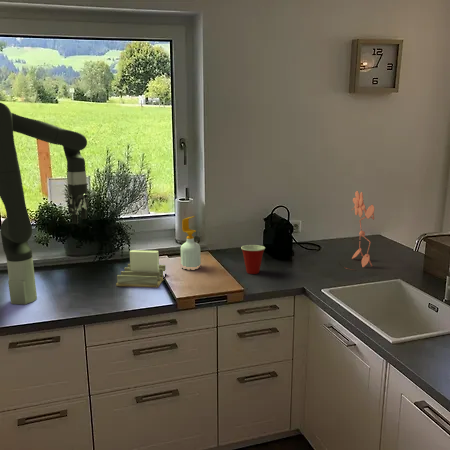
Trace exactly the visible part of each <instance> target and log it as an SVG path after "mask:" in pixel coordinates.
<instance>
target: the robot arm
mask: <svg viewBox="0 0 450 450" xmlns="http://www.w3.org/2000/svg"><path fill="white" fill-rule="evenodd" d="M15 132H16V133H18V134H22V135H25V136H28V137H30V138H34V139H37V140H39V141H42V142H45V143H49V144H52V145H56V146H57V145H59V146H62V148H63V152H64V156H65V160H66V169H67V176H66V180H67V192H68V195H71V198H69V199H68V200H67V206H68V207H67V208H68V209H67V211H68V215H71V222H72V224H73V225H77V224H79V216H78V215H79V211H80V219H81V220H86V219H87V218H88V217H87V210H88V208H89V196H88V195H89V194H88V180H87V172H86V160H85V158H84V157H83V156H82V154H81V151H83V150H84V149H86V148H87V145H88V140H87V137H86V136H85V135H84V134H83V133H80V132H78V131H73V130H69V129H66V128H62V127H60V126H57V125H54V124H53V123H52V124H51V123H49V122H45V121H43V120H42V121H41V120H38V119H35V118H34V119H33V118H30V117H26V116H22V115H20V114H19V115H18V114H16V113H14V112H11V109H10V108H9V107H8V106H7V104H5V103H2V102H0V199H1V201H2V204H3V205H4V209H5V214H6V218H4V219H3V220H2V222H1V224H0V235H1V236H0V237H1V244H2V249H3V252H4V255H5V258H6V259H5V260H6V267H7V273H8V274H7V275H8V283H7V284H8V290H9V291H8V292H9V297H10V299H9V300H10V304H11V305H27V304H30V303H33V302H35V301H36V300H37V299H38V297H37V295H38V294H37V286H36V278H35V277H36V276H35V268H34V258H33V252H32V248H31V246H30V245H29V243H28V241H29V240H30V239H31V236H32V235H33V227H32V223H31V219H30V215H29V213H28V209H27V204H26V200H25V198H26V197H25V191H24V186H23V181H22V174H21V169H20V164H19V159H18V153H17V149H16V145H15V137H14V136H15V135H14V133H15Z"/></svg>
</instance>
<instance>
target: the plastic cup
mask: <svg viewBox="0 0 450 450" xmlns="http://www.w3.org/2000/svg"><path fill="white" fill-rule="evenodd" d="M240 248H241V250H242V256H243V261H244V266H245V270H246V273H247V274H248V275H257V274H259V273H260V270H261V266H262V261H263V254H264V252H265V249H266V247H265V246H264V245H259V244H246V245H242V246H241V247H240Z"/></svg>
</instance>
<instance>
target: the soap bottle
mask: <svg viewBox="0 0 450 450" xmlns="http://www.w3.org/2000/svg"><path fill="white" fill-rule="evenodd" d="M191 218H195V215H193V216H188V217H186V218H183V219H182V220H181V221H182V223H181V228H182V232H183V233H186V235H188V236H186V241H185V242H184V243H183V244H182V245H180V265H181V264H182V265H183V266H186V267H197V266H199V265H200V264H201V263H202V260H201V259H202V257H201V246H200V244H199V243H197V242H196V241H195V238H194V236H193V234H194V233H196V232H197V230H195V229H190V224H189V223H190V221H189V219H191ZM201 265H202V264H201Z"/></svg>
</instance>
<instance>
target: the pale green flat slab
mask: <svg viewBox="0 0 450 450" xmlns="http://www.w3.org/2000/svg"><path fill="white" fill-rule="evenodd" d="M129 264H130V267H131V271H132V272H159V265H160V255H159V250H138V249H135V250H134V249H132V250H130V251H129Z"/></svg>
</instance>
